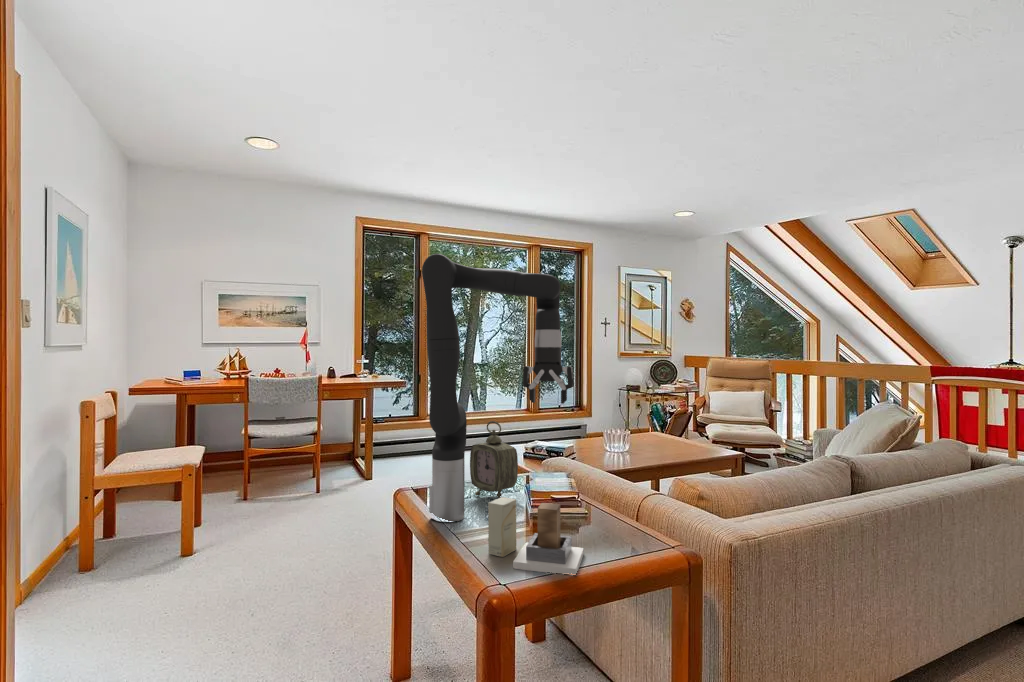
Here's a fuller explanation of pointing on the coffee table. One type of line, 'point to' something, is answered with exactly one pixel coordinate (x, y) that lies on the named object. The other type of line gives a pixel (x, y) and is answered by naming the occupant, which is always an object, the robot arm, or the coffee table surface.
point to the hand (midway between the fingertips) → (548, 402)
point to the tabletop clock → (493, 464)
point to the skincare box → (502, 526)
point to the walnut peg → (549, 525)
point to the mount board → (549, 557)
